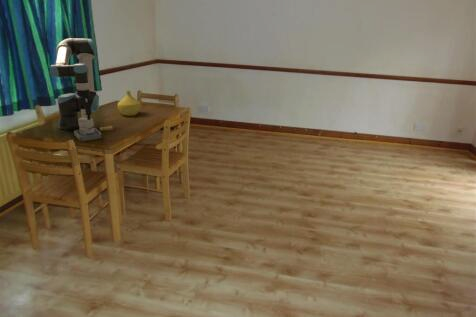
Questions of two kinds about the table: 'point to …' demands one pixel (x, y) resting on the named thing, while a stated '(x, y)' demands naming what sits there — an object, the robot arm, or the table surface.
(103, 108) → the table surface
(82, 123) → the ink box
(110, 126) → the puller tool
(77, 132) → the tray
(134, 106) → the yellow rounded bulb
